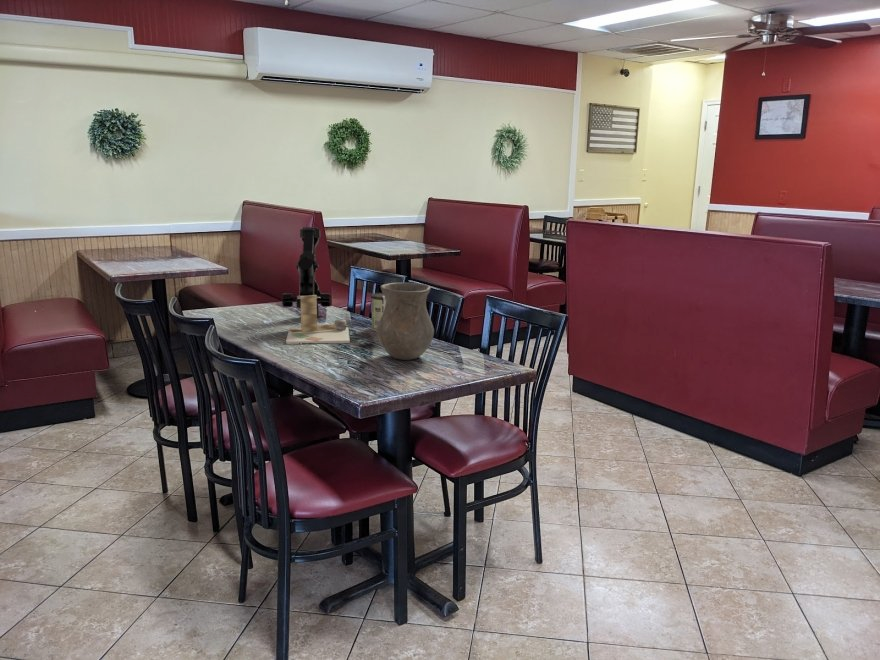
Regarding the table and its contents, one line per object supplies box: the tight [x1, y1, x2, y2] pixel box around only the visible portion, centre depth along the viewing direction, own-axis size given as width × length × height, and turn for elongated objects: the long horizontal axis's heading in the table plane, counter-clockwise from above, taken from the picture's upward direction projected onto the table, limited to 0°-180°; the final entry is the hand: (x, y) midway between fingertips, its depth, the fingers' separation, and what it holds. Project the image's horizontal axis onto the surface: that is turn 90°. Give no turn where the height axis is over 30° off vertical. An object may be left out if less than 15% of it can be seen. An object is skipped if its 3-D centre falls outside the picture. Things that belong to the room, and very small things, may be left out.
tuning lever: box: [291, 295, 347, 333], centre depth 267 cm, size 22×4×14 cm, turn 121°
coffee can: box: [370, 292, 384, 332], centre depth 278 cm, size 10×10×14 cm
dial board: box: [285, 326, 351, 345], centre depth 265 cm, size 23×22×1 cm
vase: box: [376, 281, 435, 361], centre depth 236 cm, size 20×19×25 cm
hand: (306, 318), depth 266 cm, fingers closed
